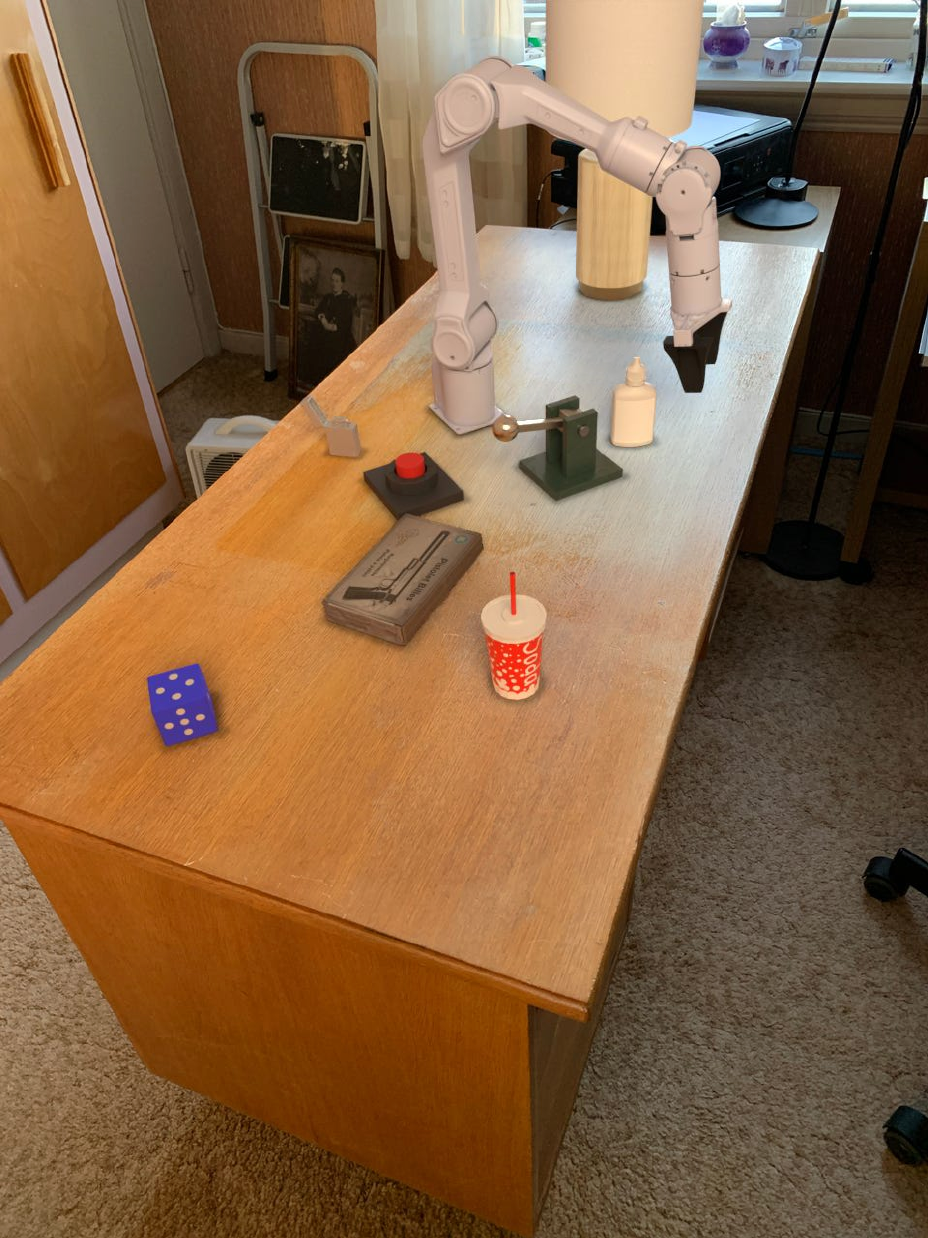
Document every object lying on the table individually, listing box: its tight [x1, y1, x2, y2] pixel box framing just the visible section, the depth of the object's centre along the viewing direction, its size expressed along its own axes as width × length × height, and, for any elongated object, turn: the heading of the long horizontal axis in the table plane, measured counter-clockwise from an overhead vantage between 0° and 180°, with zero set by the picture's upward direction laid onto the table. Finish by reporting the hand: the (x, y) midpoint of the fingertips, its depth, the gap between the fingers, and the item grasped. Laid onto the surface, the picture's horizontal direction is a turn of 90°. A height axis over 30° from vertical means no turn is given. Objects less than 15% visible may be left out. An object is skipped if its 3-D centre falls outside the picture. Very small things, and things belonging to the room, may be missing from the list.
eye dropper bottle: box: [609, 356, 658, 448], centre depth 119 cm, size 4×6×12 cm
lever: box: [491, 408, 583, 443], centre depth 111 cm, size 12×3×3 cm, turn 118°
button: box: [394, 451, 425, 478], centre depth 115 cm, size 4×4×2 cm
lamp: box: [545, 0, 705, 301], centre depth 146 cm, size 23×23×44 cm
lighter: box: [299, 394, 362, 458], centre depth 123 cm, size 7×2×8 cm, turn 74°
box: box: [321, 514, 485, 647], centre depth 101 cm, size 11×17×3 cm, turn 150°
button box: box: [362, 451, 465, 521], centre depth 116 cm, size 11×9×3 cm
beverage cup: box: [480, 571, 548, 701], centre depth 86 cm, size 6×6×14 cm
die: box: [146, 662, 219, 747], centre depth 88 cm, size 5×5×5 cm
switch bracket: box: [518, 394, 624, 502], centre depth 115 cm, size 10×9×9 cm
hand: (700, 377), depth 113 cm, fingers open, 7 cm apart
